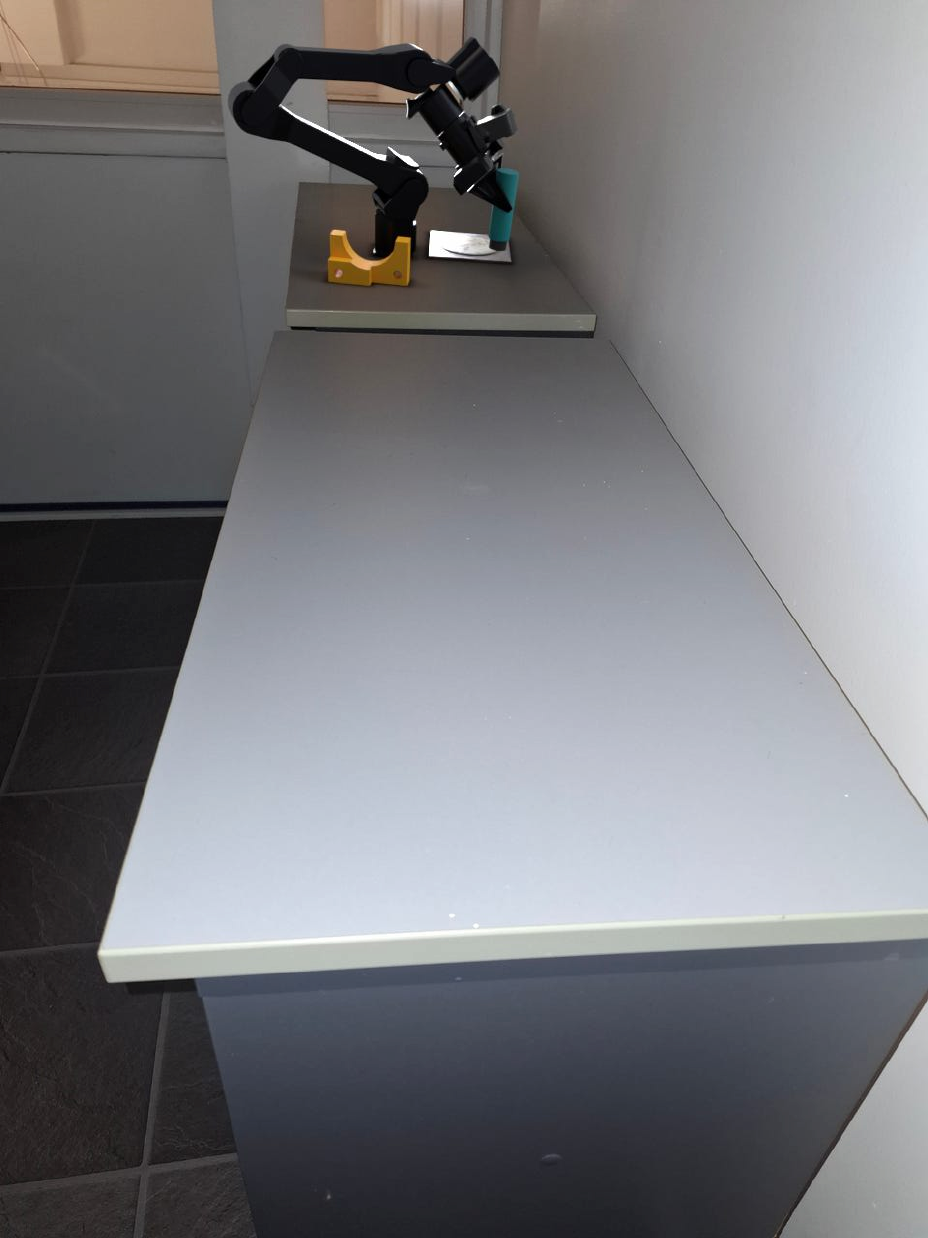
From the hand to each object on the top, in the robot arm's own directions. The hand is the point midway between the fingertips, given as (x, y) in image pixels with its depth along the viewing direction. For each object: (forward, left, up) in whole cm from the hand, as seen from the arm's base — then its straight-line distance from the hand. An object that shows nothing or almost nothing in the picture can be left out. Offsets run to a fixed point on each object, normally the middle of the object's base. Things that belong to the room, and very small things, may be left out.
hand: (511, 207), depth 141 cm
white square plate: (-6, +5, -8) cm, 12 cm away
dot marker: (-2, 0, -7) cm, 7 cm away
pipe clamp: (-22, -15, -9) cm, 28 cm away
